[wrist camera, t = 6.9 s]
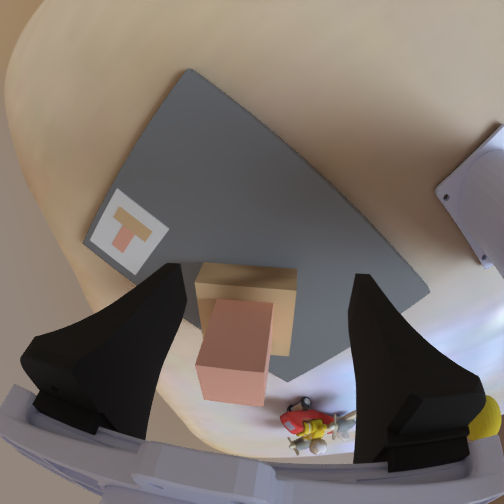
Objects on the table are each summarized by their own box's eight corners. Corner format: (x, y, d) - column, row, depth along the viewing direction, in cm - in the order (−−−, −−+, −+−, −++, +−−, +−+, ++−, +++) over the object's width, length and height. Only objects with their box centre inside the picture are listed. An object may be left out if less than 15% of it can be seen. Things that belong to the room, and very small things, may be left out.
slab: (297, 268, 23) (296, 290, 21) (290, 334, 27) (288, 356, 25) (203, 262, 24) (194, 282, 22) (211, 326, 28) (204, 347, 26)
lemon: (486, 399, 32) (499, 444, 26) (454, 409, 34) (464, 457, 27) (496, 378, 30) (512, 427, 23) (461, 390, 31) (475, 442, 24)
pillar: (273, 302, 22) (264, 372, 17) (271, 341, 24) (263, 406, 19) (216, 298, 22) (195, 364, 17) (221, 336, 25) (203, 399, 20)
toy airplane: (280, 393, 34) (275, 442, 29) (359, 387, 32) (362, 437, 27) (290, 426, 39) (287, 468, 33) (357, 422, 36) (358, 463, 31)
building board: (427, 286, 23) (430, 293, 23) (287, 376, 32) (287, 383, 31) (191, 68, 17) (186, 68, 16) (87, 238, 25) (81, 244, 25)
